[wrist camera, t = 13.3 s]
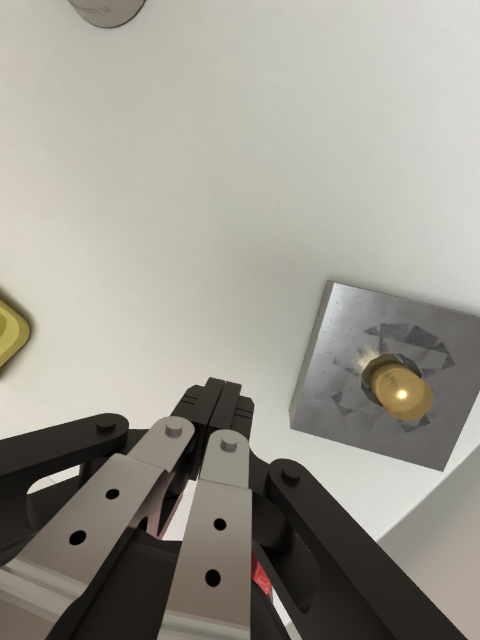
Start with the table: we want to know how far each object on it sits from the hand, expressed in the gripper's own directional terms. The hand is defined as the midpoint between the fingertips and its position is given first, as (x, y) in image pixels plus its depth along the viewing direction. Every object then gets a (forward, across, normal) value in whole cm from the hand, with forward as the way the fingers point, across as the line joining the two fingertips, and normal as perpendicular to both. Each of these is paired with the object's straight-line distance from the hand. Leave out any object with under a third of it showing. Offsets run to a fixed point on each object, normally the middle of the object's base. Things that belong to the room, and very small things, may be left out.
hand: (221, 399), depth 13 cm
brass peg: (+20, -15, +3) cm, 25 cm away
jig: (+20, -15, +3) cm, 25 cm away
